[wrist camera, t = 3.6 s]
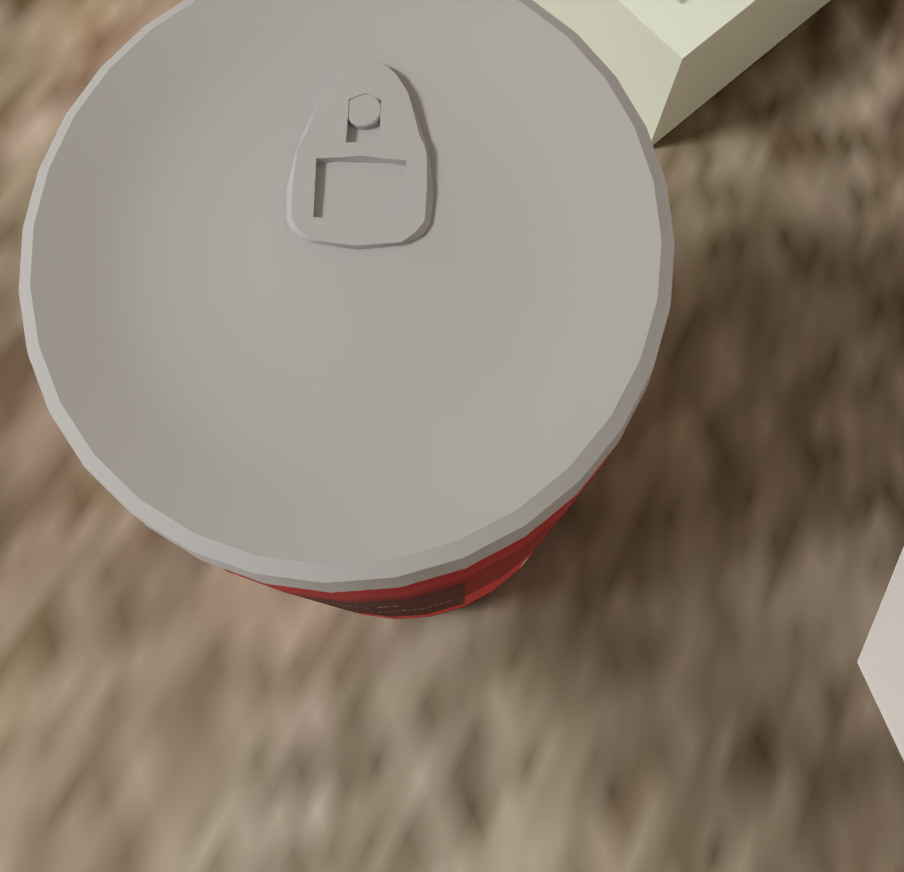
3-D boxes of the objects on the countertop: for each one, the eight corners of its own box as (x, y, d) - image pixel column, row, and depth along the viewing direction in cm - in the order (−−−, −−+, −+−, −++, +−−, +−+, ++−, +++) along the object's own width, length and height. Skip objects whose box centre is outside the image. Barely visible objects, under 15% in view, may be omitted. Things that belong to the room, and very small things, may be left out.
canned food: (518, 265, 21) (574, -113, 11) (607, 575, 20) (783, 488, 9) (219, 335, 21) (-29, 13, 10) (281, 657, 19) (56, 670, 8)
